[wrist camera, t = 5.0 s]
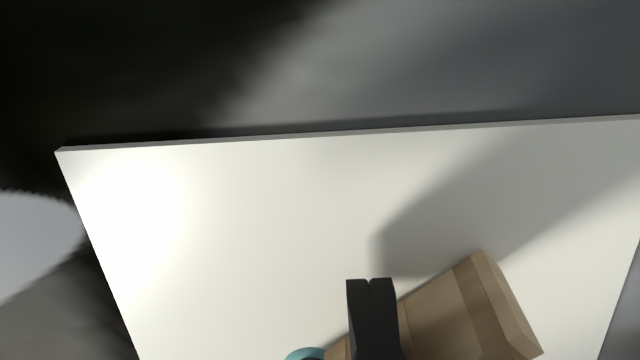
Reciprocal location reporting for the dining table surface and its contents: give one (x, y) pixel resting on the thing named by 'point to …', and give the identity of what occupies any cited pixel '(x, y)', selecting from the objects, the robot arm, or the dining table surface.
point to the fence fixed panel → (311, 358)
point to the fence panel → (461, 318)
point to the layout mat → (358, 228)
